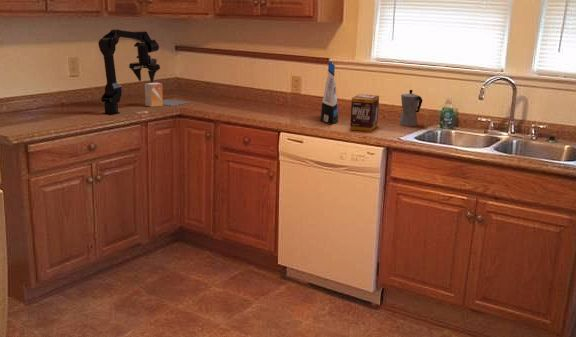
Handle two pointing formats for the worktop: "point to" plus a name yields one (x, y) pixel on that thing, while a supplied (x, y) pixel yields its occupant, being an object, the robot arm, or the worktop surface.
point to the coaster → (141, 112)
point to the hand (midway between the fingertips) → (146, 81)
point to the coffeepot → (410, 109)
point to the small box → (153, 94)
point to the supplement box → (364, 112)
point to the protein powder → (330, 98)
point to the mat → (172, 102)
